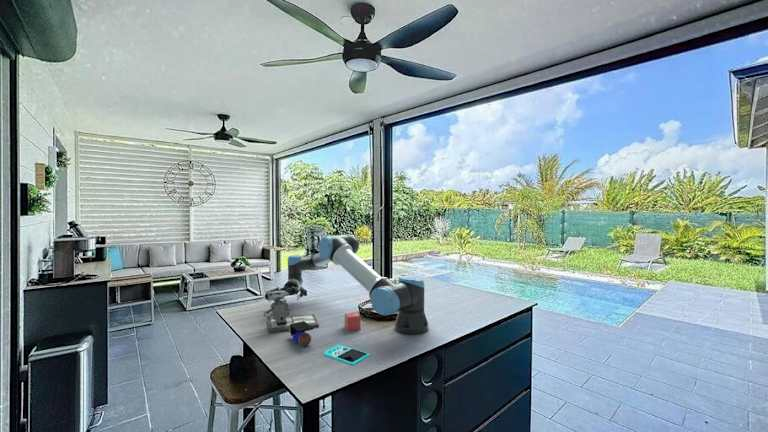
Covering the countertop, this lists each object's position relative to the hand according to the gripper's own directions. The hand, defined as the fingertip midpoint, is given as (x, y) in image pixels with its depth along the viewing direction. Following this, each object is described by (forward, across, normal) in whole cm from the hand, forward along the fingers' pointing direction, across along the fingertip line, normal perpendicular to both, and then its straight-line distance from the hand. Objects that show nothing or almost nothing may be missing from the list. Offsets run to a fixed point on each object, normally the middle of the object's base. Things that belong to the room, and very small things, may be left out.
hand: (283, 298), depth 167 cm
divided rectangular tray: (+5, -5, -11) cm, 13 cm away
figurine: (+7, +2, -10) cm, 12 cm away
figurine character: (+25, -12, -11) cm, 30 cm away
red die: (+12, -33, -11) cm, 37 cm away
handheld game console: (+40, -31, -12) cm, 52 cm away
